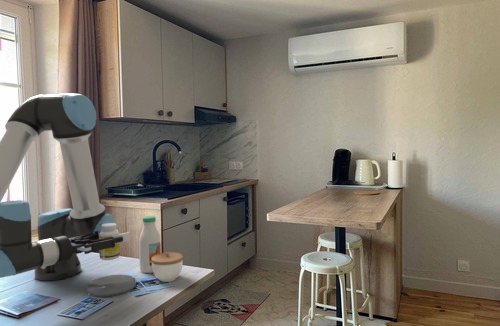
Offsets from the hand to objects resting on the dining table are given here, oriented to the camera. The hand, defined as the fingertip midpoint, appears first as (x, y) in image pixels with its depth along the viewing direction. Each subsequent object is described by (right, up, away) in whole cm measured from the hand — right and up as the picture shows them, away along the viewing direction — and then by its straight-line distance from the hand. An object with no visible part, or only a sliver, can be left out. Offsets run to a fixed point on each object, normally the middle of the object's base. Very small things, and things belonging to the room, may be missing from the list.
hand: (123, 234), depth 126 cm
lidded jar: (+14, -16, +5) cm, 22 cm away
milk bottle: (+6, -16, +13) cm, 21 cm away
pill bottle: (-3, -7, -4) cm, 9 cm away
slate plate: (-3, -17, -3) cm, 17 cm away
